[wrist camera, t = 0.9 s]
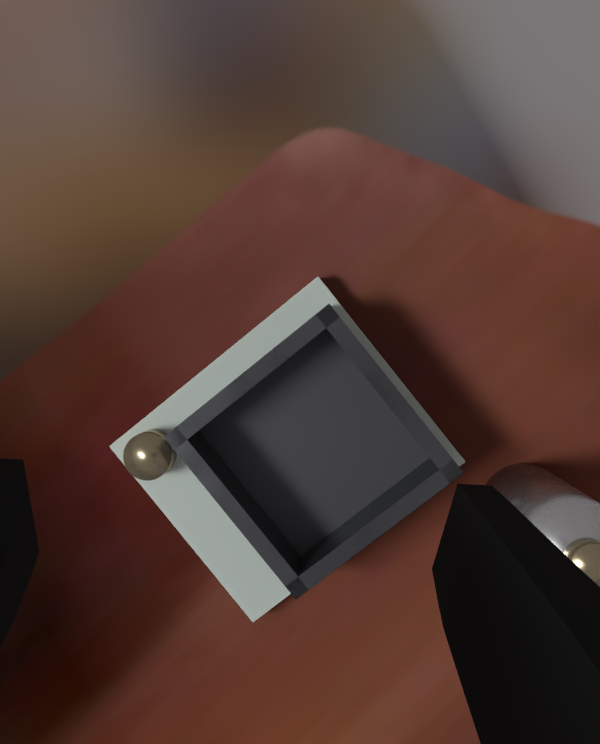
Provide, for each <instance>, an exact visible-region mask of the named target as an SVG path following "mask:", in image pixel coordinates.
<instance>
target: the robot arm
mask: <svg viewBox="0 0 600 744" xmlns="http://www.w3.org/2000/svg"><path fill="white" fill-rule="evenodd" d="M38 554H39V548H38V542H37V536H36V531H35V525H34V519H33V514H32V508H31V502H30V497H29V491H28V485H27V480H26V474H25V468H24V463H23V460H20V459H2V458H0V646H1V644H2V642H3V640H4V638H5V636H6V634H7V632H8V630H9V628H10V626H11V624H12V622H13V620H14V618H15V616H16V614H17V611H18V609H19V606H20V603H21V601H22V598H23V596H24V593H25V590H26V588H27V585H28V582H29V580H30V577H31V574H32V571H33V568H34V565H35V562H36V560H37V557H38ZM432 571H433V577H434V582H435V588H436V593H437V599H438V604H439V609H440V613H441V618H442V623H443V627H444V631H445V634H446V637H447V641H448V644H449V647H450V650H451V653H452V656H453V659H454V663H455V666H456V669H457V672H458V675H459V678H460V681H461V684H462V688H463V691H464V694H465V697H466V700H467V703H468V706H469V709H470V712H471V715H472V718H473V721H474V724H475V727H476V731H477V734H478V737H479V740H480V743H481V744H600V587H599V586H598V585H597V584H596V583H595V582H594V581H593V580H592V579H591V578H590V577H589V576H587V575H586V574H585V573H584V572H583V571H582V570H581V569H580V568H579V567H578V566H577V565H576V564H575V563H573V562H572V561H571V560H570V559H569V558H568V557H567V556H566V555H565V554H564V553H563V552H562V551H561V550H560V549H559V548H558V547H557V546H555V545H554V544H553V543H552V542H551V541H550V540H549V539H548V538H547V537H546V536H545V535H544V534H543V533H542V532H541V531H540V530H539V529H538V528H537V527H536V526H535V525H534V524H533V523H532V522H530V521H529V520H528V519H527V518H526V517H525V516H524V515H523V514H522V513H521V512H520V511H519V510H518V509H517V508H516V507H515V506H514V505H513V504H512V503H511V502H510V501H508V500H507V499H506V498H505V497H504V496H503V495H502V494H501V493H500V492H499V491H497V490H496V489H495V488H494V487H493V486H487V485H469V484H457V487H456V491H455V494H454V497H453V501H452V504H451V507H450V511H449V514H448V517H447V521H446V524H445V527H444V531H443V534H442V537H441V541H440V544H439V547H438V551H437V554H436V557H435V561H434V564H433V567H432Z"/></svg>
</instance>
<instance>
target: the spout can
mask: <svg viewBox="0 0 600 744" xmlns="http://www.w3.org/2000/svg"><path fill="white" fill-rule="evenodd" d="M486 485H487V486H493V487H494V488H495V489H496V490H497V491H499V492H500V493H501V494H502V495H503V496H504V497H505V498H506V499H507V500H508V501H510V502H511V503H512V504H513V505H514V506H515V507H516V508H517V509H518V510H519V511H520V512H521V513H522V514H523V515H524V516H525V517H526V518H527V519H528V520H529V521H530V522H532V523H533V524H534V525H535V526H536V527H537V528H538V529H539V530H540V531H541V532H542V533H543V534H544V535H545V536H546V537H547V538H548V539H549V540H550V541H551V542H552V543H553V544H554V545H555V546H557V547H558V548H559V549H560V550H561V551H562V552H563V553H564V554H565V555H566V556H567V557H568V558H569V559H570V560H571V561H572V562H573V563H575V564H576V565H577V566H578V567H579V568H580V569H581V570H582V571H583V572H584V573H585V574H586V575H587V576H589V577H590V578H591V579H592V580H593V581H594V582H595V583H596V584H597V585H598V586H599V587H600V503H599V502H597V501H595V500H594V499H592V498H591V497H589V496H587V495H586V494H584V493H583V492H581V491H579V490H578V489H576V488H575V487H573V486H571V485H570V484H568V483H567V482H565V481H563V480H562V479H560V478H559V477H557V476H555V475H554V474H552V473H551V472H549V471H547V470H546V469H544V468H542V467H540V466H537V465H533V464H526V463H521V464H514V465H510V466H507V467H505V468H503V469H501V470H500V471H498V472H497V473H495V474H494V475H493V476H492V477H491V478H490V479H489V481H488V482H487V484H486Z"/></svg>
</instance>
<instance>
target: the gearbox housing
mask: <svg viewBox="0 0 600 744" xmlns="http://www.w3.org/2000/svg"><path fill="white" fill-rule="evenodd" d="M109 447H110V448H111V449H112V450H113V452H114V453H115V454H116V455H117V456H118V458H119V459H120V460H121V461H122V463H123V464H124V465H125V467H126V468H127V470H128V471H129V473H130V474H132V475H133V476H134V477H135V479H136V480H137V481H138V482H139V483H140V485H141V486H142V487H143V488H144V490H145V491H146V492H147V493H148V494H149V496H150V497H151V498H152V499H153V501H154V502H155V503H156V504H157V506H158V507H159V508H160V509H161V510H162V512H163V513H164V514H165V515H166V517H167V518H168V519H169V520H170V521H171V523H172V524H173V525H174V526H175V528H176V529H177V530H178V531H179V532H180V534H181V535H182V536H183V537H184V539H185V540H186V541H187V542H188V544H189V545H190V546H191V547H192V548H193V550H194V551H195V552H196V553H197V555H198V556H199V557H200V558H201V559H202V561H203V562H204V563H205V564H206V566H207V567H208V568H209V569H210V570H211V572H212V573H213V574H214V575H215V577H216V578H217V579H218V580H219V582H220V583H221V584H222V585H223V586H224V588H225V589H226V590H227V591H228V593H229V594H230V595H231V596H232V597H233V599H234V600H235V601H236V602H237V604H238V605H239V606H240V607H241V608H242V610H243V611H244V612H245V613H246V615H247V616H248V617H249V618H250V620H251V621H252V622H254V621H255V620H257V619H258V618H259V617H261V616H262V615H263V614H265V613H266V612H267V611H269V610H270V609H271V608H273V607H274V606H275V605H277V604H278V603H279V602H281V601H282V600H283V599H285V598H286V597H287V596H289V595H290V594H292V595H293V597H294V598H295V599H297V598H298V597H300V596H301V595H302V594H304V593H305V592H306V591H308V590H309V589H310V588H312V587H313V586H314V585H315V584H317V583H318V582H319V581H321V580H322V579H323V578H325V577H326V576H327V575H329V574H330V573H331V572H333V571H334V570H335V569H337V568H338V567H339V566H341V565H342V564H343V563H345V562H346V561H347V560H349V559H350V558H351V557H353V556H354V555H355V554H357V553H358V552H359V551H361V550H362V549H363V548H365V547H366V546H367V545H369V544H370V543H371V542H373V541H374V540H375V539H377V538H378V537H379V536H381V535H382V534H383V533H385V532H386V531H387V530H388V529H390V528H391V527H392V526H394V525H395V524H396V523H398V522H399V521H400V520H402V519H403V518H404V517H406V516H407V515H408V514H410V513H411V512H412V511H414V510H415V509H416V508H418V507H419V506H420V505H422V504H423V503H424V502H426V501H427V500H428V499H430V498H431V497H432V496H434V495H435V494H436V493H438V492H439V491H440V490H442V489H443V488H444V487H446V486H447V485H448V484H450V483H451V482H452V481H454V480H455V479H456V478H457V477H459V476H460V475H461V474H463V473H464V472H463V471H462V470H461V468H460V467H459V466H461V465H462V464H463V463H465V460H464V459H463V458H462V457H461V455H460V454H459V453H458V452H457V450H456V449H455V448H454V447H453V445H452V444H451V443H450V441H449V440H448V439H447V438H446V436H445V435H444V434H443V433H442V431H441V430H440V429H439V428H438V426H437V425H436V424H435V423H434V421H433V420H432V419H431V418H430V416H429V415H428V414H427V413H426V411H425V410H424V409H423V408H422V406H421V405H420V404H419V403H418V401H417V400H416V399H415V398H414V396H413V395H412V394H411V392H410V391H409V390H408V389H407V387H406V386H405V385H404V384H403V382H402V381H401V380H400V379H399V377H398V376H397V375H396V374H395V372H394V371H393V370H392V369H391V367H390V366H389V365H388V364H387V362H386V361H385V360H384V359H383V357H382V356H381V355H380V354H379V352H378V351H377V350H376V349H375V347H374V346H373V345H372V343H371V342H370V341H369V340H368V338H367V337H366V336H365V335H364V333H363V332H362V331H361V330H360V328H359V327H358V326H357V325H356V323H355V322H354V321H353V320H352V318H351V317H350V316H349V315H348V313H347V312H346V311H345V310H344V308H343V307H342V306H341V305H340V303H339V302H338V301H337V300H336V298H335V297H334V296H333V295H332V293H331V292H330V291H329V289H328V288H327V287H326V286H325V284H324V283H323V282H322V281H321V279H320V278H319V277H317V278H315V279H314V280H313V281H312V282H311V283H309V284H308V285H307V286H306V287H304V288H303V289H302V290H301V291H300V292H298V293H297V294H296V295H295V296H293V297H292V298H291V299H290V300H288V301H287V302H286V303H285V304H284V305H282V306H281V307H280V308H279V309H277V310H276V311H275V312H274V313H273V314H271V315H270V316H269V317H268V318H266V319H265V320H264V321H263V322H261V323H260V324H259V325H258V326H257V327H255V328H254V329H253V330H252V331H250V332H249V333H248V334H247V335H245V336H244V337H243V338H242V339H241V340H239V341H238V342H237V343H236V344H234V345H233V346H232V347H231V348H230V349H228V350H227V351H226V352H225V353H223V354H222V355H221V356H220V357H218V358H217V359H216V360H215V361H214V362H212V363H211V364H210V365H209V366H207V367H206V368H205V369H204V370H202V371H201V372H200V373H199V374H198V375H196V376H195V377H194V378H193V379H191V380H190V381H189V382H188V383H187V384H185V385H184V386H183V387H182V388H180V389H179V390H178V391H177V392H175V393H174V394H173V395H172V396H171V397H169V398H168V399H167V400H166V401H164V402H163V403H162V404H161V405H159V406H158V407H157V408H156V409H155V410H153V411H152V412H151V413H150V414H148V415H147V416H146V417H145V418H144V419H142V420H141V421H140V422H139V423H137V424H136V425H135V426H134V427H132V428H131V429H130V430H129V431H128V432H126V433H125V434H124V435H123V436H121V437H120V438H119V439H118V440H116V441H115V442H114V443H113V444H112V445H110V446H109Z"/></svg>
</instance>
